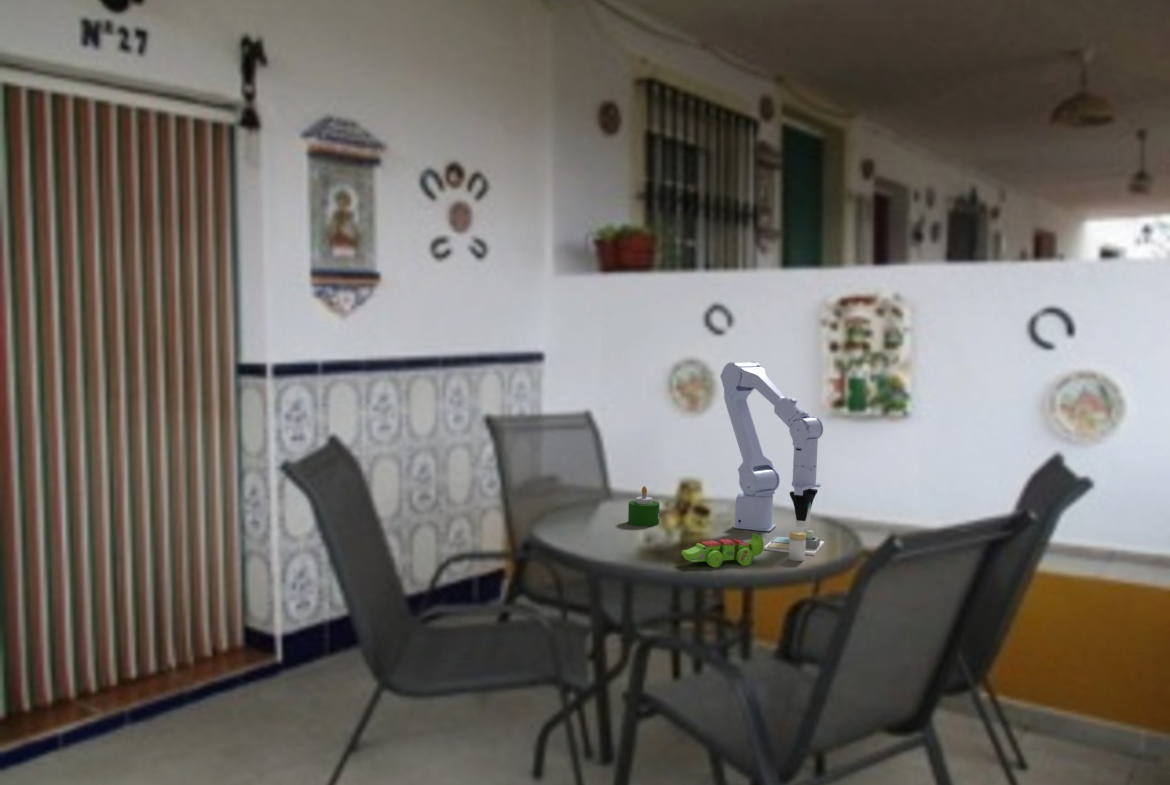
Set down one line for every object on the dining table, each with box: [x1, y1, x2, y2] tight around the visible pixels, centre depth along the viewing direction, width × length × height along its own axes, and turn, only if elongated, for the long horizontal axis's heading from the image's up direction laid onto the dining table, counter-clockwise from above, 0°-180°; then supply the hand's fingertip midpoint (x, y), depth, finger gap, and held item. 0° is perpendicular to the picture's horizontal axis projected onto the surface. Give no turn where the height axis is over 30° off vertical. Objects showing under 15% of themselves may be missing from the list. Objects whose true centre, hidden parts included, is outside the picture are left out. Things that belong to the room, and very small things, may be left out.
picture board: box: [763, 535, 825, 556], centre depth 241 cm, size 12×13×3 cm
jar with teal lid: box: [794, 502, 812, 528], centre depth 250 cm, size 4×4×6 cm
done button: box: [804, 529, 814, 540], centre depth 238 cm, size 2×2×2 cm
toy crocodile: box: [680, 532, 765, 568], centre depth 224 cm, size 20×7×6 cm, turn 108°
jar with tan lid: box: [788, 531, 806, 562], centre depth 229 cm, size 4×4×6 cm
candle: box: [627, 485, 661, 527], centre depth 265 cm, size 8×8×10 cm
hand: (802, 519), depth 250 cm, fingers closed on jar with teal lid, 4 cm apart
